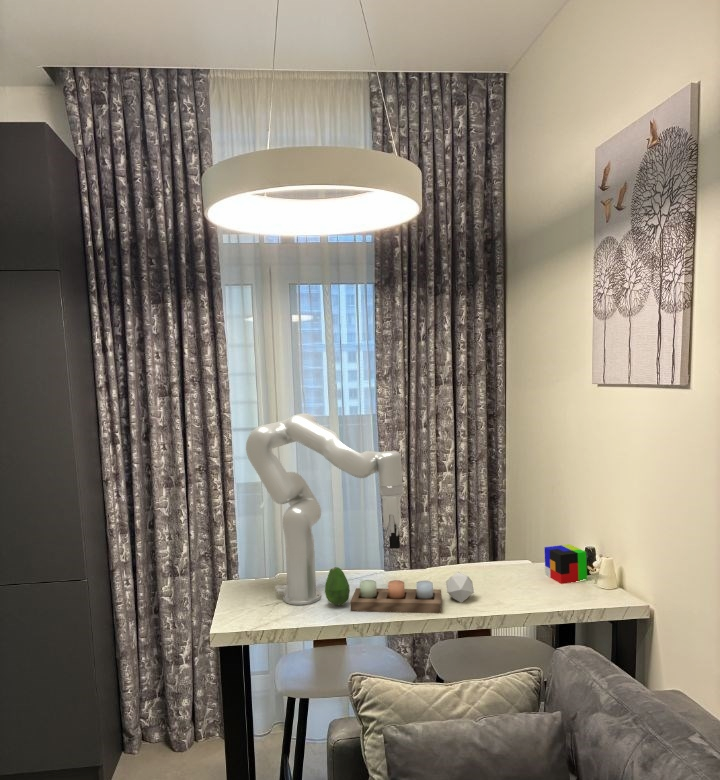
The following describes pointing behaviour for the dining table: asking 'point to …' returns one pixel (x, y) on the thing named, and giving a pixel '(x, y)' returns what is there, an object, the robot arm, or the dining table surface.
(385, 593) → the board
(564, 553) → the puzzle toy
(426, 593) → the button blue
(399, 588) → the button terracotta
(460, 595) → the die
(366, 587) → the button sage
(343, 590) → the avocado
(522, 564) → the dining table surface
